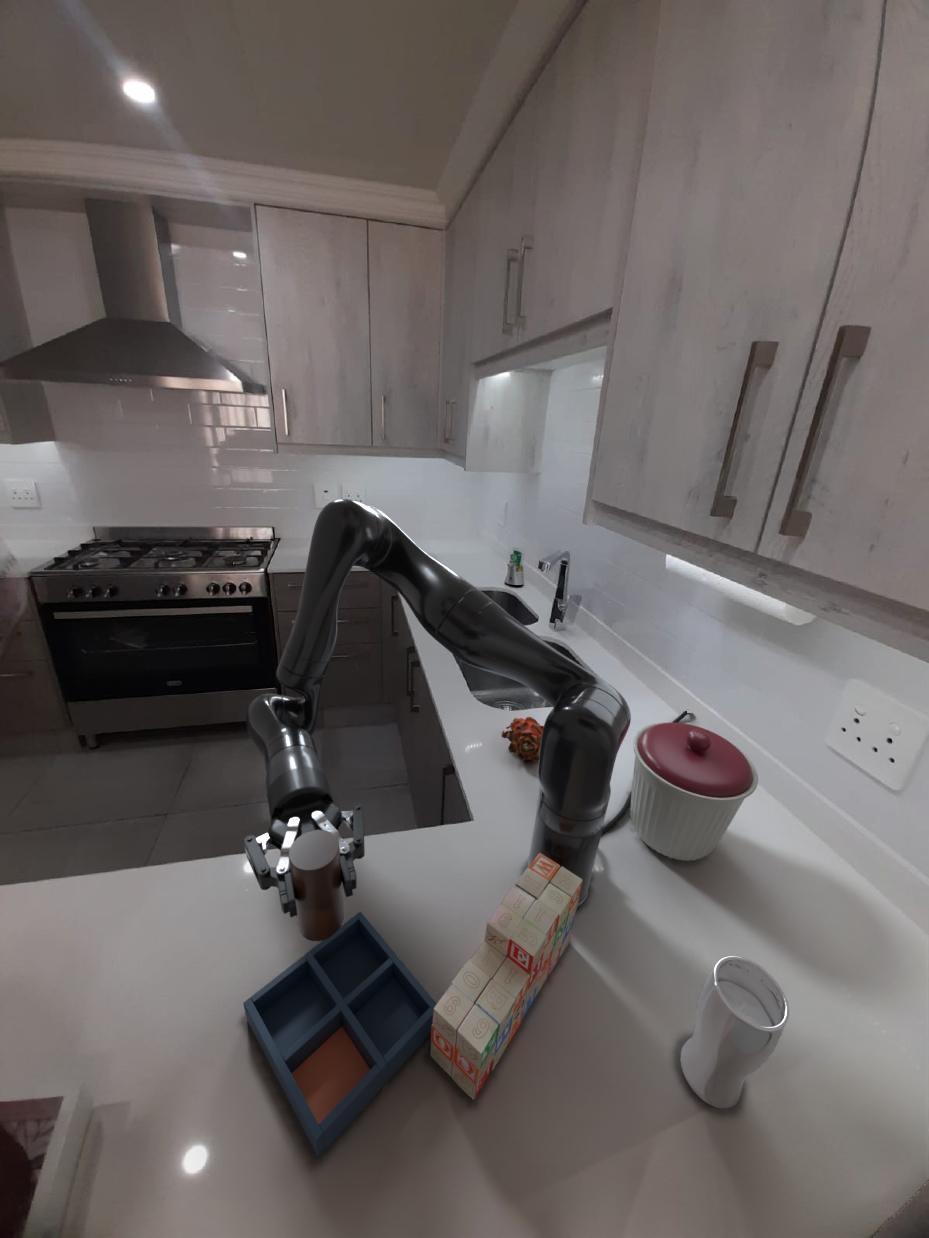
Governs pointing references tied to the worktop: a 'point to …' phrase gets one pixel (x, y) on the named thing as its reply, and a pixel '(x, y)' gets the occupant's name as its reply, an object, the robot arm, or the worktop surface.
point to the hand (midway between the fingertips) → (322, 900)
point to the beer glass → (733, 1030)
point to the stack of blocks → (504, 973)
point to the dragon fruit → (525, 738)
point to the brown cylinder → (317, 884)
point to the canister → (686, 788)
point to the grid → (339, 1027)
